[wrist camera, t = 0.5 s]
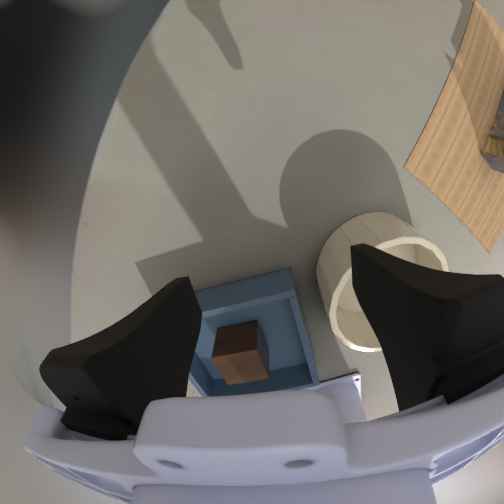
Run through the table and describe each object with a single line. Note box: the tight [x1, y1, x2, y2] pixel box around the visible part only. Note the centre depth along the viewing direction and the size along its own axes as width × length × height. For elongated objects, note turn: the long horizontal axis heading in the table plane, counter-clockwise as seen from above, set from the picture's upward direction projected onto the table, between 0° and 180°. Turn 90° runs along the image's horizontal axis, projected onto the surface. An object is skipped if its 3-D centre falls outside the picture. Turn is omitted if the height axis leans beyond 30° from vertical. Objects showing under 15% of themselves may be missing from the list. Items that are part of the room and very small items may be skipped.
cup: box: [316, 212, 449, 352], centre depth 20 cm, size 10×10×6 cm
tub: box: [188, 268, 320, 397], centre depth 24 cm, size 12×12×3 cm
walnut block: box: [211, 319, 270, 385], centre depth 24 cm, size 4×4×4 cm
